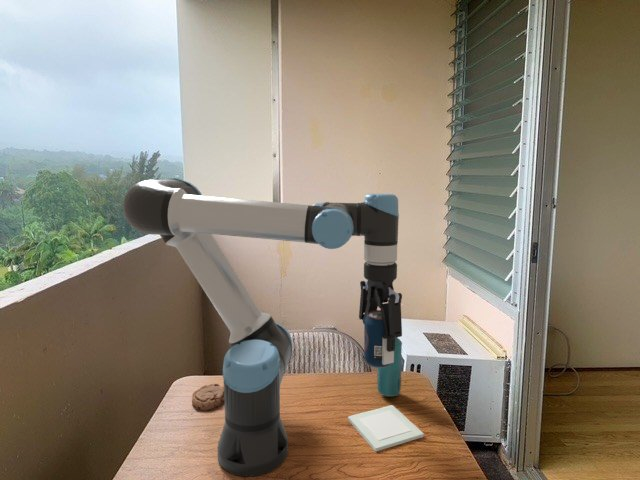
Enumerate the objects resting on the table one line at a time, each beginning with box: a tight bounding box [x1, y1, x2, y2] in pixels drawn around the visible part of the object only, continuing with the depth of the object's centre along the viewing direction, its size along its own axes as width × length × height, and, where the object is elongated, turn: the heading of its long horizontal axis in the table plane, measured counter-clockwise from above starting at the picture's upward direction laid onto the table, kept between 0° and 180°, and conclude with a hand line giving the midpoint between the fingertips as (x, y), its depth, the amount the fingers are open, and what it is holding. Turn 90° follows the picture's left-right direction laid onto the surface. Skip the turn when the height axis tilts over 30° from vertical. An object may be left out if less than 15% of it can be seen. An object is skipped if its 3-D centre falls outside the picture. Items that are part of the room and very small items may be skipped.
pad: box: [347, 404, 425, 453], centre depth 99 cm, size 13×13×1 cm
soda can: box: [363, 309, 391, 369], centre depth 97 cm, size 7×7×12 cm
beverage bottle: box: [376, 337, 403, 397], centre depth 112 cm, size 6×7×20 cm
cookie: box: [191, 383, 224, 412], centre depth 110 cm, size 10×11×3 cm
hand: (378, 356), depth 98 cm, fingers closed on soda can, 7 cm apart
